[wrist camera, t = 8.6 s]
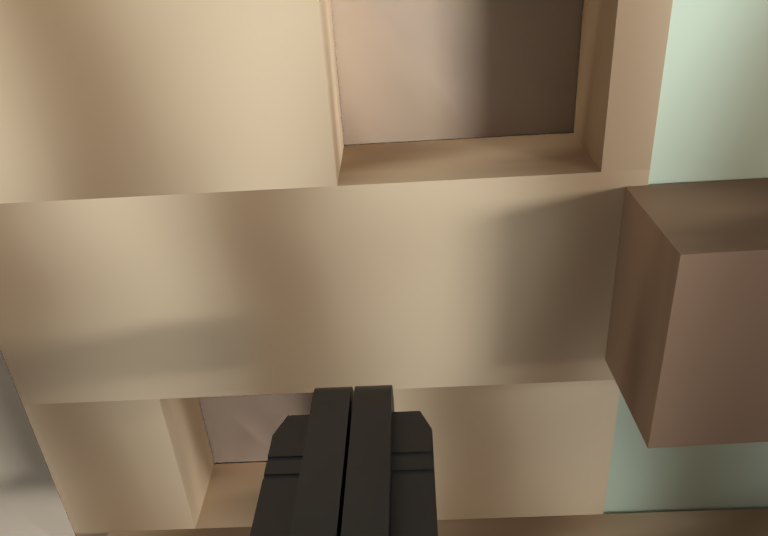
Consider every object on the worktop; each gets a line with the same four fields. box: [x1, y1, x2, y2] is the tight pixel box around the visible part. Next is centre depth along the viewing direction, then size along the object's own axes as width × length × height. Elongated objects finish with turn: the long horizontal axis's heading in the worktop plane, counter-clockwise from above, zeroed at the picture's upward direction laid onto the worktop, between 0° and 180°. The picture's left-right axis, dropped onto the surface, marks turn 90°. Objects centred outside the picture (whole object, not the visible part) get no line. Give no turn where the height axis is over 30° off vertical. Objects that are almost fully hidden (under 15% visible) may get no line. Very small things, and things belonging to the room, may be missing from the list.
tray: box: [0, 0, 768, 536], centre depth 16 cm, size 22×16×4 cm
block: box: [605, 178, 768, 448], centre depth 14 cm, size 4×4×3 cm
